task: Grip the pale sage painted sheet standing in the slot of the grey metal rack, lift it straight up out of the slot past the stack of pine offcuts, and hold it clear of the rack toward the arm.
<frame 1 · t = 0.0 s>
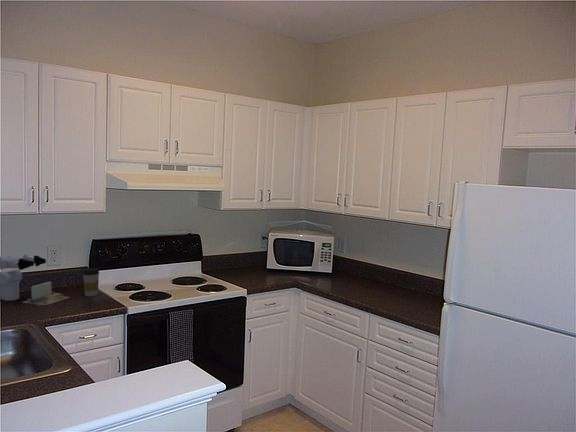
hand: (39, 262, 239), 22 cm above the table, tool horizontal, fingers open, 7 cm apart
offcut upper: (53, 298, 244), point 2 cm above the table, touching offcut lower
rack: (46, 301, 246), on the table
sheet: (41, 299, 247), point 1 cm above the table, touching rack
offcut lower: (54, 300, 245), point 1 cm above the table, touching offcut upper, rack
coffee cup: (91, 296, 258), on the table
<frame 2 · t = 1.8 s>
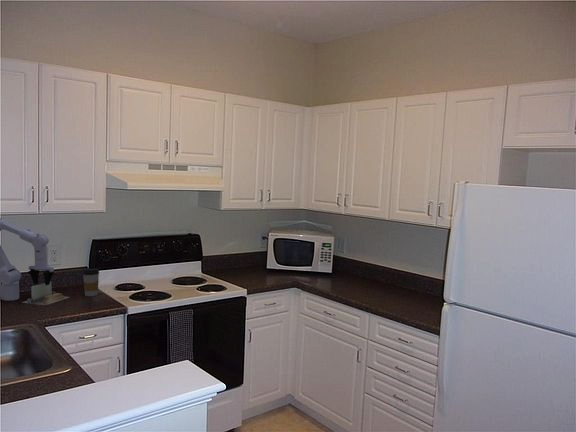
hand: (41, 284, 246), 9 cm above the table, tool pointing down, fingers open, 7 cm apart
nothing on the table moved.
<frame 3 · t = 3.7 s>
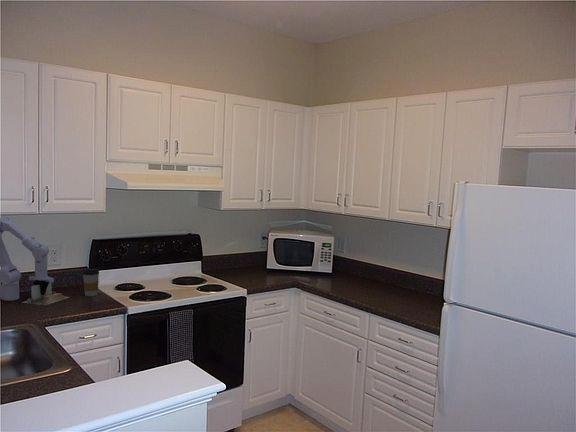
hand: (41, 294, 247), 3 cm above the table, tool pointing down, fingers closed on sheet, 1 cm apart
sheet: (41, 299, 247), point 1 cm above the table, touching gripper, rack
everything else where it was.
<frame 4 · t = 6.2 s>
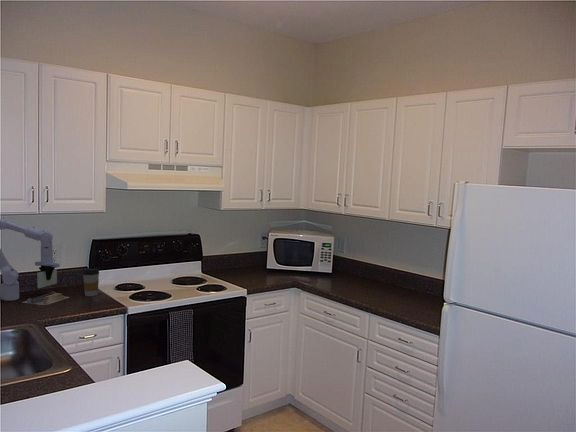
hand: (47, 279, 252), 10 cm above the table, tool pointing down, fingers closed on sheet
sheet: (47, 285, 253), point 7 cm above the table, touching gripper
everything else where it was.
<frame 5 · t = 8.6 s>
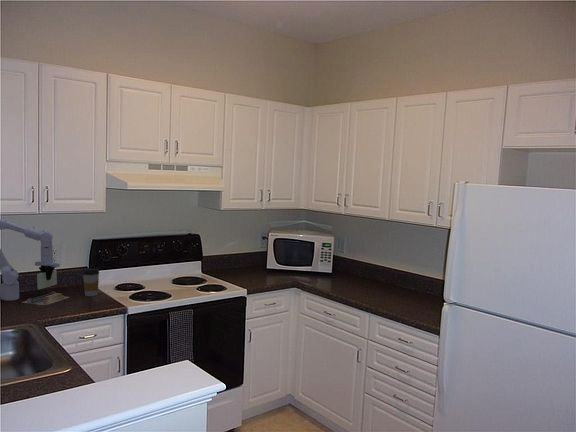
hand: (47, 279, 252), 10 cm above the table, tool pointing down, fingers closed on sheet
sheet: (47, 286, 253), point 6 cm above the table, touching gripper
everything else where it was.
at the end: the gripper is holding sheet; sheet point 6.1 cm above the table; offcut upper moved 0.0 cm from its start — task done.
